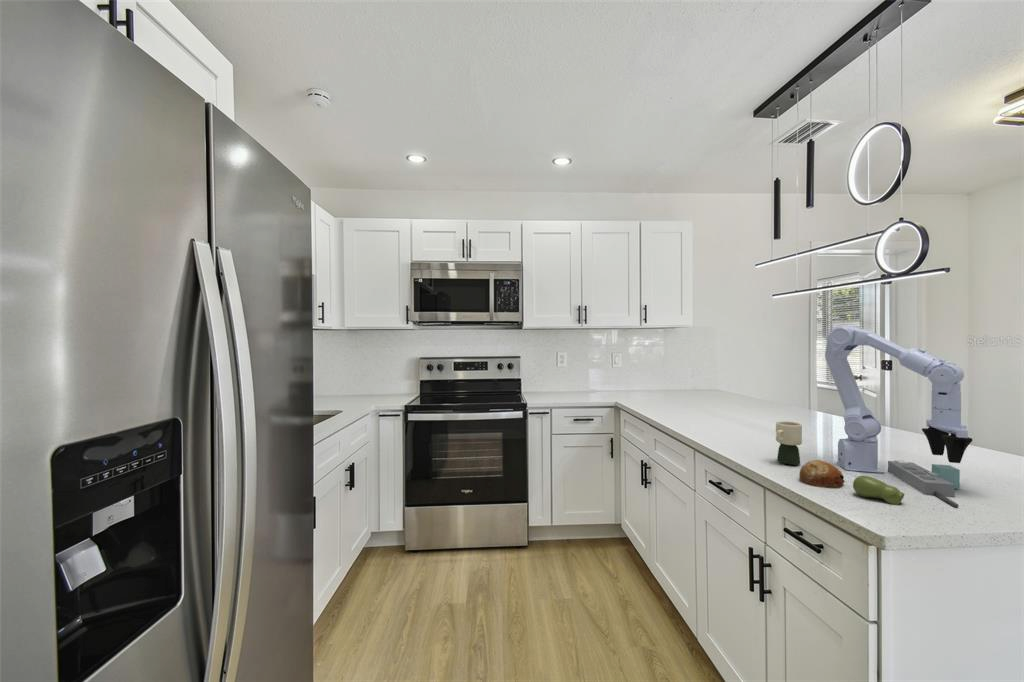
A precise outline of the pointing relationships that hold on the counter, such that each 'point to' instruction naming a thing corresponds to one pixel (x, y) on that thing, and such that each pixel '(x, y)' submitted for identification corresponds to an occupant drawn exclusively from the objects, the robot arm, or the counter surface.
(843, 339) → the robot arm
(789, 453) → the character mug
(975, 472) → the counter surface
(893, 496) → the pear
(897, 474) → the power strip
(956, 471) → the block
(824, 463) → the bread roll
